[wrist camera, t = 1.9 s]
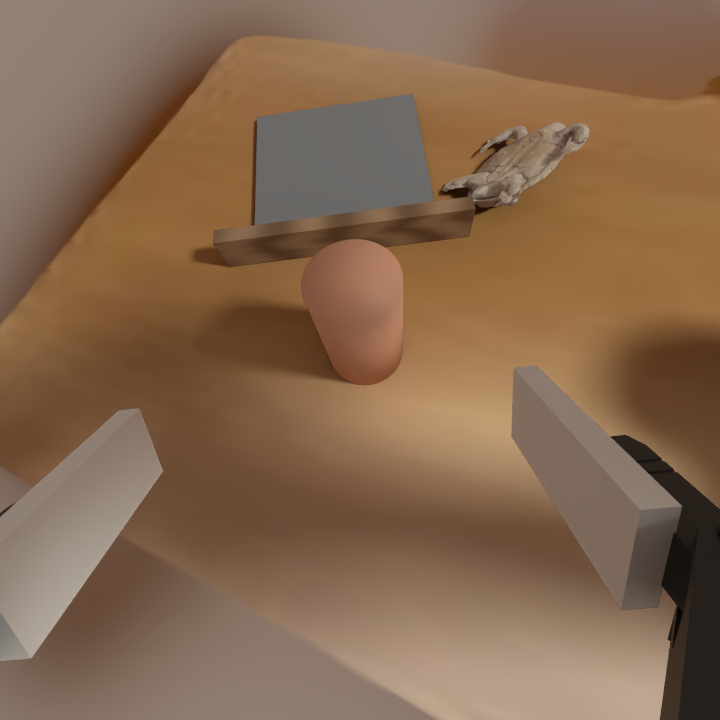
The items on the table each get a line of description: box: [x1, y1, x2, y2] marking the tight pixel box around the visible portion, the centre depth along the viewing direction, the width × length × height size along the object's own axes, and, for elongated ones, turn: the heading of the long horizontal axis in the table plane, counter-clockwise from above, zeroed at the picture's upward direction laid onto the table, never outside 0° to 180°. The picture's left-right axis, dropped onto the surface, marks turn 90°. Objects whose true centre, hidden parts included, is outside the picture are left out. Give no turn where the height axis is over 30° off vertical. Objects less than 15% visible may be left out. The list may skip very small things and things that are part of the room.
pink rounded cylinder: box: [301, 239, 403, 385], centre depth 33 cm, size 7×7×12 cm
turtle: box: [442, 123, 589, 207], centre depth 42 cm, size 16×10×10 cm, turn 155°
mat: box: [255, 94, 434, 225], centre depth 48 cm, size 20×18×1 cm
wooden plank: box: [213, 196, 476, 267], centre depth 41 cm, size 26×2×4 cm, turn 95°
